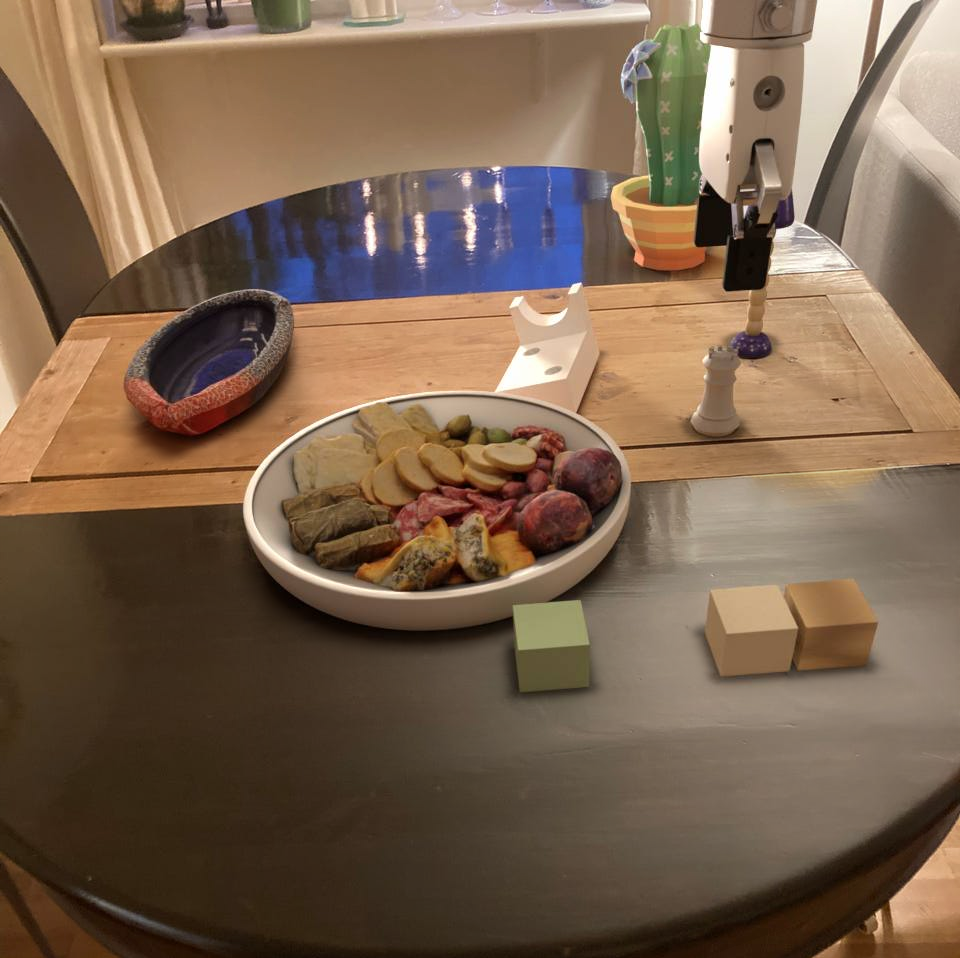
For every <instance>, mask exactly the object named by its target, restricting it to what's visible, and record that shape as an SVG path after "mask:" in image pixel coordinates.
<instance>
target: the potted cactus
mask: <svg viewBox="0 0 960 958" xmlns="http://www.w3.org/2000/svg"><path fill="white" fill-rule="evenodd" d="M700 36H701V26H700V25H699V23H697V22H696V23H694V24H692V25H688V24H687V22H681V23H680V24H678V25H677V26H672V25H670V24H664V25H663V27H661V26H660V28H659V29H658V31H657V32H656V34H655V36H654V37H653V39H652V38H650V39H648V38H647V39H645V40H643V41H640V42H638V44H636V45H635V46H634V47H633V48H631V51H630V53H629V54H628V56H627V57H626V60H625V63H624V64H623V67H622V70H621V74H620V85H621V90H622V95H623V99H624V100H625V99H628V100H629V102H630V104H631V105H634V104H635V113H636V117H637V119H638V122H639V125H640V128H641V132H642V134H643V137H644V144H645V154H646V162H647V172H648V175H641V176H636V177H631V178H629V179H627V180H625V181H622V182H620V183H617V184H615V185H614V186H613V187H612V191H611V194H610V200H611V207H612V210H613V211H615V212H617V213H618V217H619V219H620V224H621V226H622V230H623V233H624V235H625V237H626V239H627V240H628V242H629V243H630V245H631V246H632V248H633V249H634V250H635V254H634V259H633V261H634V262H635V263H637V264H638V265H639V266H640V267H642V268H645V269H646V268H647V269H650V270H651V269H652V270H656V271H682V270H687V269H693V268H696V267H697V266H699V265H701V264H702V263H705V261H706V252H705V251H706V250H707V248H708V247H696V246H695V244H694V232H695V222H696V212H697V202H698V195H706V194H700V192H699V181H700V178H701V175H702V172H701V170H700V165H699V145H700V132H701V122H702V113H703V104H704V95H705V88H706V80H707V73H708V62H709V60H710V53H711V47H712V45H711V44H706V43H703V42H702V41H701V40H700Z"/></svg>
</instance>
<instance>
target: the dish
mask: <svg viewBox="0 0 960 958" xmlns="http://www.w3.org/2000/svg"><path fill="white" fill-rule="evenodd" d="M294 331H295V316H294V311H293V307H292V304H291V302H290V301H289V300H288V299H287V298H285V297H283V296H282V295H280V294H278V293H276V292H275V291H270V290H266V289H258V288H257V289H255V288H253V289H241V290H235V291H232V292H231V291H230V292H226V293H222V294H220V295H216V296H213V297H211V298H209V299H207V300H204V301H201V302H199V303H197V304H195V305H193V306H191V307H190V308H187V309H186V310H184V311H182V312H180V313H178V314H177V315H176V316H174V317H172V318H171V319H170V320H168V321H167V322H165V323H164V324H163V325H162V326H161V327H158V329H157V330H156V331H154V332H153V333H152V334H151V335H150V336H149V337H148V338H147V339H146V340H145V341H144V343H143V344H142V345H141V346H140V348H139V349H138V350H137V352H136V353H135V354H134V356H133V357H132V359H131V361H130V362H129V365H128V367H127V368H126V372H125V375H124V379H123V390H124V394H125V398H126V400H128V402H129V403H130V404H131V405H132V406H133V407H135V408H136V409H137V411H138V412H139V413H140V414H141V415H143V416H144V417H145V418H146V420H148V422H149V423H151V425H153V426H154V427H156V428H158V429H159V430H161V431H166V432H171V433H177V434H181V435H192V436H194V435H203V434H204V433H206V432H208V431H211V430H213V429H214V428H216V427H218V426H220V425H221V424H223V423H225V422H227V421H228V420H230V419H232V418H234V417H236V416H238V415H240V414H241V413H243V412H245V411H246V410H248V409H250V408H251V407H252V406H253V405H255V404H256V403H257V402H258V401H260V400H261V399H262V398H263V397H264V395H265V394H266V393H267V392H268V391H269V390H270V388H272V386H273V385H274V383H275V382H276V380H277V379H278V378H279V376H280V375H281V373H282V370H283V368H284V367H285V364H286V361H287V358H288V355H289V353H290V349H291V344H292V341H293V340H292V339H293V335H294Z"/></svg>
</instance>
